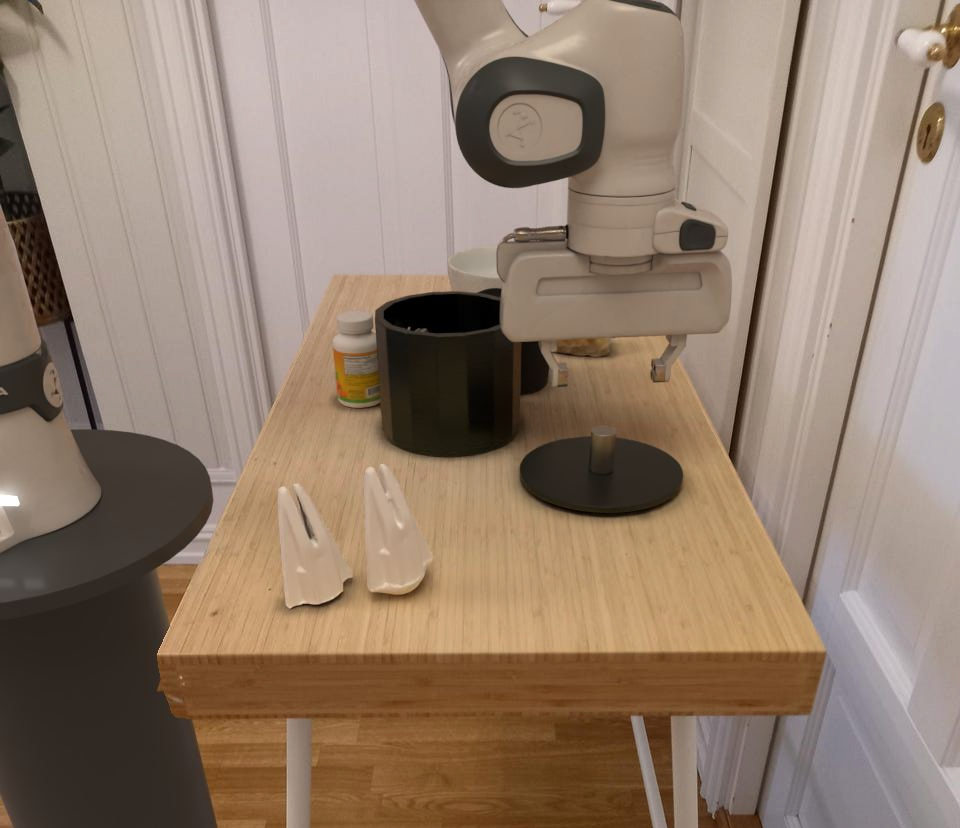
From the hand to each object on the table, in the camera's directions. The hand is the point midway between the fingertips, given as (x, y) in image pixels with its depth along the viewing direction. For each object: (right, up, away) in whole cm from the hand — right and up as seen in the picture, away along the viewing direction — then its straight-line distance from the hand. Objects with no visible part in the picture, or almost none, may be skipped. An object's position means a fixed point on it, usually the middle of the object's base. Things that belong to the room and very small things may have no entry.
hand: (609, 382), depth 89 cm
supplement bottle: (-26, +4, +23) cm, 35 cm away
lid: (0, -8, +5) cm, 9 cm away
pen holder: (-8, +7, +27) cm, 29 cm away
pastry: (+1, +14, +37) cm, 39 cm away
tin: (-15, -1, +16) cm, 22 cm away
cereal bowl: (-8, +24, +51) cm, 57 cm away
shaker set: (-22, -20, -11) cm, 31 cm away
